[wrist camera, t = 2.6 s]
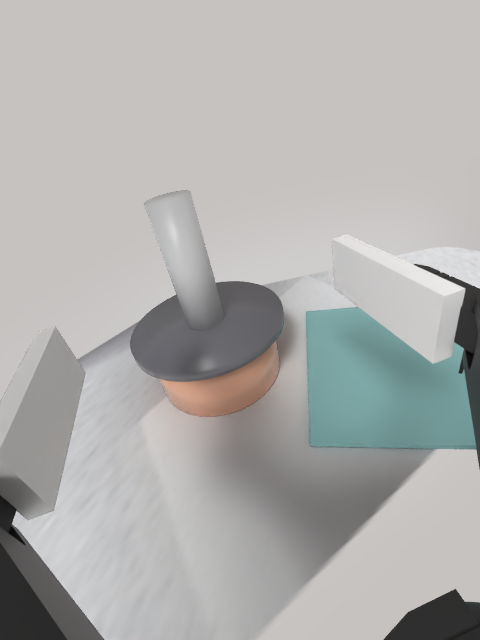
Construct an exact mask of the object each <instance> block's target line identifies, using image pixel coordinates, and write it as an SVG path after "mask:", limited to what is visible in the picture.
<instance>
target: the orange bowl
mask: <svg viewBox="0 0 480 640" xmlns="http://www.w3.org/2000/svg"><path fill="white" fill-rule="evenodd" d="M279 368H280V361H279V355H278V349H277V344H276V341H275V342H274V343H273V344H272V345H271V347H270V348H269V349H268V350H266V351H265V352H264V353H263V354H262V355H261V356H259V357H258V358H256V359H255V360H254V361H252V362H250V363H249V364H247V365H245V366H243V367H241V368H239V369H237V370H235V371H233V372H230V373H227V374H224V375H222V376H218V377H214V378H211V379H206V380H200V381H190V382H174V381H167V380H162V379H159V380H160V382H161V384H162V386H163V388H164V390H165V392H166V395H167V397H168V398H169V400H170V402H171V403H172V404H173V405H174V406H175V407H177V408H178V409H179V410H181V411H183V412H185V413H188V414H191V415H196V416H204V417H211V416H221V415H226V414H230V413H233V412H236V411H239V410H241V409H244V408H246V407H247V406H249V405H251V404H253V403H254V402H256V401H257V400H259V399H260V398H261V397H262V396H263V395H265V393H266V392H267V391H268V390H269V389H270V388H271V387H272V385H273V384H274V382H275V380H276V378H277V376H278V373H279Z"/></svg>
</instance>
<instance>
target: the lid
mask: <svg viewBox="0 0 480 640" xmlns="http://www.w3.org/2000/svg"><path fill="white" fill-rule="evenodd" d="M144 205H145V208H146V211H147V214H148V216H149V219H150V222H151V225H152V228H153V230H154V233H155V236H156V239H157V241H158V244H159V247H160V250H161V252H162V255H163V258H164V261H165V263H166V266H167V269H168V272H169V274H170V277H171V280H172V283H173V286H174V288H175V291H176V294H177V295H175V296H173V297H171V298H169V299H167V300H166V301H164V302H162V303H161V304H160V305H158V306H156V307H155V308H153V309H152V310H151V311H150V312H149V313H147V314H146V316H144V317H143V318H142V320H141V321H140V322H139V323H138V325H137V326H136V328H135V329H134V331H133V334H132V336H131V341H130V348H131V352H132V354H133V356H134V358H135V360H136V362H137V364H138V366H139V367H140V368H141V369H142V370H143V371H145V372H146V373H147V374H149V375H151V376H153V377H156V378H159V379H162V380H167V381H174V382H190V381H200V380H206V379H211V378H214V377H218V376H222V375H224V374H227V373H230V372H233V371H235V370H237V369H239V368H241V367H243V366H245V365H247V364H249V363H250V362H252V361H254V360H255V359H256V358H258V357H259V356H261V355H262V354H263V353H264V352H265V351H266V350H268V349H269V348H270V347H271V345H272V344H273V343H274V342H275V341H276V339H277V338H278V336H279V334H280V332H281V330H282V327H283V323H284V314H283V307H282V304H281V301H280V299H279V297H278V296H277V295H276V294H275V293H274V292H273V291H271V290H270V289H268V288H266V287H264V286H261V285H258V284H254V283H249V282H238V281H237V282H236V281H233V282H231V281H230V282H219V283H215V279H214V276H213V272H212V269H211V265H210V261H209V258H208V254H207V250H206V247H205V243H204V240H203V236H202V233H201V229H200V225H199V222H198V218H197V214H196V211H195V207H194V203H193V200H192V196H191V193H190V191H188V190H182V191H176V192H171V193H167V194H163V195H160V196H157V197H154V198H152V199H149V200H147V201H146V202H145V203H144Z"/></svg>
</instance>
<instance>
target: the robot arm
mask: <svg viewBox="0 0 480 640" xmlns="http://www.w3.org/2000/svg"><path fill="white" fill-rule="evenodd" d="M332 252H333V271H334V289H335V290H337V291H338V292H339V293H341V294H342V295H343V296H345V297H346V298H347V299H348V300H350V301H351V302H352V303H354V304H355V305H356V306H358V307H359V308H360V309H362V310H363V311H364V312H366V313H367V314H368V315H369V316H371V317H372V318H373V319H375V320H376V321H377V322H379V323H380V324H381V325H383V326H384V327H385V328H387V329H388V330H389V331H390V332H392V333H393V334H394V335H396V336H397V337H398V338H400V339H401V340H402V341H404V342H405V343H406V344H408V345H409V346H410V347H412V348H413V349H414V350H415V351H417V352H418V353H419V354H421V355H422V356H423V357H425V358H426V359H427V360H429V361H430V362H431V363H433V364H434V363H437V362H439V361H442V360H444V359H447V358H449V357H452V353H453V348H454V343H456V344H458V345H459V346H461V347H462V348H464V351H463V355H462V360H461V364H460V368H459V373H460V374H462V373H463V370H464V372H465V379H466V385H467V391H468V398H469V404H470V410H471V417H472V423H473V429H474V436H475V442H476V449H477V455H478V461H479V467H480V289H479V288H477V287H475V286H472V285H470V284H468V283H465V282H463V281H461V280H458V279H456V278H454V277H452V276H451V277H449V275H447V274H445V273H440V271H438V270H436V269H433V268H431V267H428V266H423V265H418V264H411V263H408V262H406V261H404V260H402V259H400V258H397V257H395V256H393V255H391V254H389V253H386V252H384V251H382V250H380V249H378V248H375V247H373V246H371V245H369V244H367V243H364V242H362V241H360V240H358V239H356V238H353V237H351V236H349V235H346V234H345V235H342V236H339V237H336V238H333V239H332ZM84 378H85V371H84V370H83V368H82V367H81V365H80V364H79V362H78V361H77V359H76V357H75V356H74V354H73V353H72V351H71V350H70V348H69V347H68V345H67V344H66V342H65V341H64V339H63V337H62V336H61V334H60V333H59V331H58V330H57V328H56V327H52V328H49V329H45V330H42V331H39V332H37V333H36V336H35V337H34V339H33V341H32V343H31V345H30V347H29V349H28V350H27V352H26V354H25V356H24V358H23V360H22V362H21V364H20V366H19V367H18V369H17V371H16V373H15V375H14V377H13V379H12V380H11V382H10V384H9V386H8V388H7V390H6V392H5V394H4V396H3V397H2V399H1V401H0V640H104V639H103V637H102V636H101V635H100V633H99V632H98V631H97V630H96V628H95V627H94V626H93V624H92V623H91V622H90V621H89V619H88V618H87V617H86V616H85V614H84V613H83V612H82V610H81V609H80V608H79V607H78V605H77V604H76V603H75V601H74V600H73V599H72V598H71V596H70V595H69V594H68V592H67V591H66V590H65V589H64V587H63V586H62V585H61V583H60V582H59V581H58V580H57V578H56V577H55V576H54V575H53V573H52V572H51V571H50V569H49V568H48V567H47V566H46V564H45V563H44V562H43V560H42V559H41V558H40V557H39V555H38V554H37V553H36V551H35V550H34V549H33V548H32V546H31V545H30V544H29V542H28V541H27V540H26V539H25V537H24V536H23V535H22V534H21V532H20V531H19V530H18V529H17V528H16V527H15V526H13V525H12V522H13V519H14V516H15V513H16V511H17V512H19V513H20V514H21V515H22V516H23V517H25V518H26V519H27V520H30V519H33V518H35V517H38V516H40V515H43V514H45V513H48V512H51V511H53V510H54V508H55V504H56V499H57V495H58V491H59V486H60V482H61V478H62V473H63V469H64V465H65V460H66V456H67V452H68V447H69V443H70V439H71V434H72V430H73V426H74V421H75V417H76V413H77V408H78V404H79V400H80V395H81V391H82V387H83V382H84ZM384 640H480V603H478V602H464V600H463V599H462V597H461V596H460V595H459V593H458V592H457V590H456V589H455V590H453V591H450V592H448V593H446V594H444V595H442V596H440V597H438V598H436V599H434V600H432V601H430V602H428V603H426V604H424V605H422V606H420V607H418V608H416V609H414V610H412V611H410V612H408V613H407V614H406V615H405V616H404V617H403V618H402V620H401V621H400V622H399V623H398V624H397V625H396V627H394V629H393V630H392V631H391V632H390V633H389V634H388V635H387V636H386V638H385V639H384Z"/></svg>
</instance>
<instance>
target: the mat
mask: <svg viewBox="0 0 480 640" xmlns="http://www.w3.org/2000/svg"><path fill="white" fill-rule="evenodd" d="M306 329H307V362H308V396H309V430H310V446H315V447H370V448H426V449H476V442H475V436H474V429H473V423H472V417H471V410H470V404H469V398H468V391H467V385H466V379H465V372H464V370H463V373H462V374H460V373H459V368H460V364H461V360H462V355H463V351H464V348H462V347H461V346H459V345H458V344H456V343H454V348H453V353H452V357H449V358H447V359H444V360H442V361H439V362H437V363H434V364H433V363H431V362H430V361H429V360H427V359H426V358H425V357H423V356H422V355H421V354H419V353H418V352H417V351H415V350H414V349H413V348H412V347H410V346H409V345H408V344H406V343H405V342H404V341H402V340H401V339H400V338H398V337H397V336H396V335H394V334H393V333H392V332H390V331H389V330H388V329H387V328H385V327H384V326H383V325H381V324H380V323H379V322H377V321H376V320H375V319H373V318H372V317H371V316H369V315H368V314H367V313H366V312H364V311H363V310H362V309H360V308H359V307H355V308H343V309H331V310H319V311H307V312H306Z"/></svg>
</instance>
